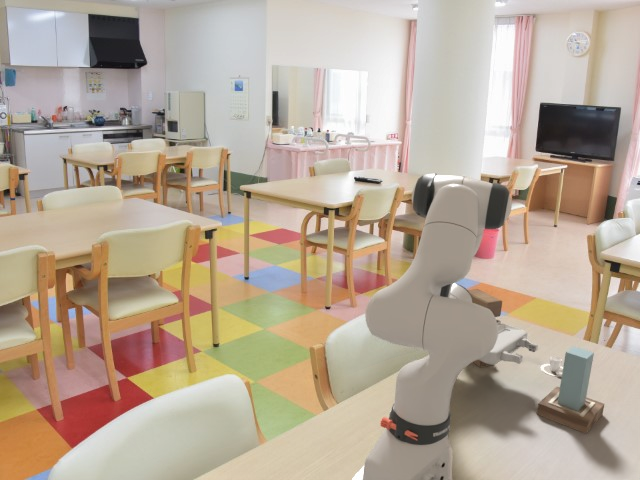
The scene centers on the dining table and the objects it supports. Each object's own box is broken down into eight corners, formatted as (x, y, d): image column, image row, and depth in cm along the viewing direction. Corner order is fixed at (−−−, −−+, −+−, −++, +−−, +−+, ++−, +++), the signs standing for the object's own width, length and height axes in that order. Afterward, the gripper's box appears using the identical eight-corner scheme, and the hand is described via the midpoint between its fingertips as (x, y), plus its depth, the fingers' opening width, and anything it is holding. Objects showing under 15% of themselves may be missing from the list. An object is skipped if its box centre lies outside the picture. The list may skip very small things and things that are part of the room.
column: (577, 411, 145) (586, 358, 142) (557, 403, 149) (565, 352, 145) (585, 403, 149) (594, 352, 145) (564, 396, 152) (573, 345, 148)
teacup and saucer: (572, 381, 167) (574, 368, 166) (543, 377, 169) (545, 364, 168) (566, 367, 176) (568, 354, 175) (538, 363, 177) (540, 351, 176)
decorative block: (495, 364, 174) (503, 300, 169) (479, 368, 172) (487, 303, 167) (471, 349, 184) (478, 288, 179) (456, 352, 182) (462, 290, 176)
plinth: (585, 433, 141) (588, 421, 140) (536, 413, 149) (538, 402, 148) (602, 414, 150) (604, 402, 149) (555, 396, 158) (557, 385, 157)
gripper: (462, 337, 154) (513, 355, 146) (498, 317, 169) (546, 332, 160) (460, 359, 156) (509, 378, 147) (495, 337, 171) (543, 353, 162)
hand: (529, 354), depth 154 cm, fingers open, 8 cm apart
